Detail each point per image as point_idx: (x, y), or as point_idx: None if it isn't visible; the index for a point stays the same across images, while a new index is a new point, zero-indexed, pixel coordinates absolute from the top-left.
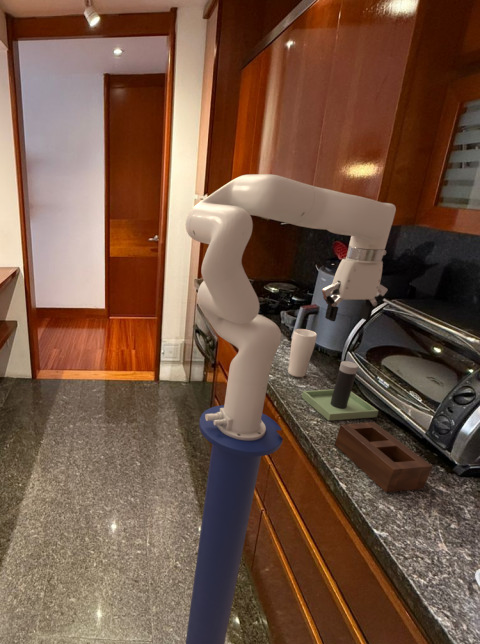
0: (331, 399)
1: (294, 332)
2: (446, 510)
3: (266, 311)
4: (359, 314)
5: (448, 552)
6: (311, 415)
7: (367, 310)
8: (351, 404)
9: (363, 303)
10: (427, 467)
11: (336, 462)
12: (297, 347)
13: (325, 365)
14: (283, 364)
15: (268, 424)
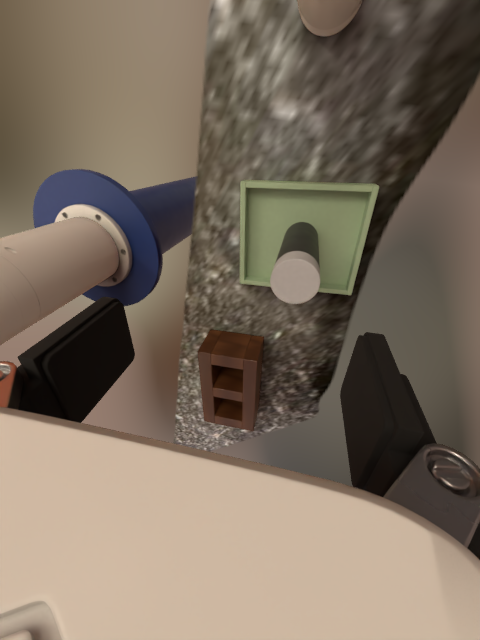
0: (286, 232)
1: None
2: (255, 422)
3: None
4: (361, 346)
5: (216, 438)
6: (222, 255)
7: (353, 438)
8: (334, 242)
9: (393, 432)
10: (246, 429)
11: (191, 353)
12: None
13: None
14: None
15: (142, 252)
